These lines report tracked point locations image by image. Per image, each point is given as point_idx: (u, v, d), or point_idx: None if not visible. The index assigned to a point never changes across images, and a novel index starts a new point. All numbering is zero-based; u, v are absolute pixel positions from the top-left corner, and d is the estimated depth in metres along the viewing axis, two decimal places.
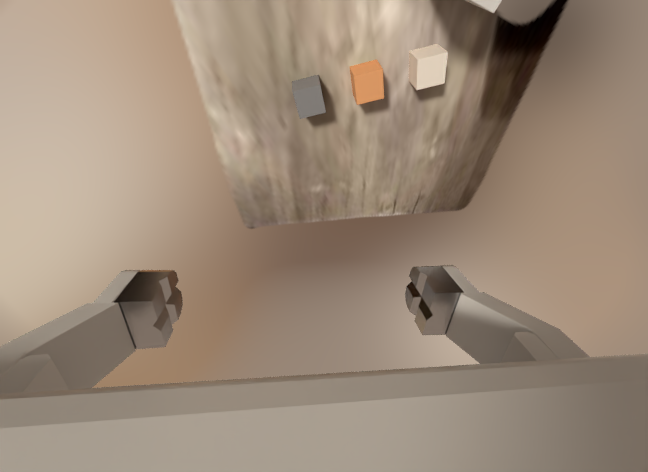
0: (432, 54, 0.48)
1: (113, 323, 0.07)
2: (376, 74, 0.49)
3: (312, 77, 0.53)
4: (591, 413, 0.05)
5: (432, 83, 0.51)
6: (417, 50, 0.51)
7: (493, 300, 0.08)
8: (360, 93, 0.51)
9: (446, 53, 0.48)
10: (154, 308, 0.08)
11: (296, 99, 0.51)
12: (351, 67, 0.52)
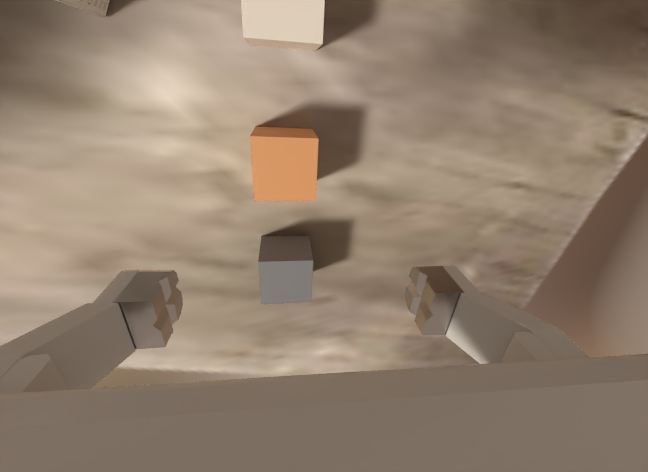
0: None
1: (113, 323, 0.07)
2: (260, 153, 0.21)
3: None
4: (591, 413, 0.05)
5: None
6: None
7: (493, 300, 0.08)
8: (292, 191, 0.23)
9: None
10: (154, 308, 0.08)
11: (275, 301, 0.28)
12: None
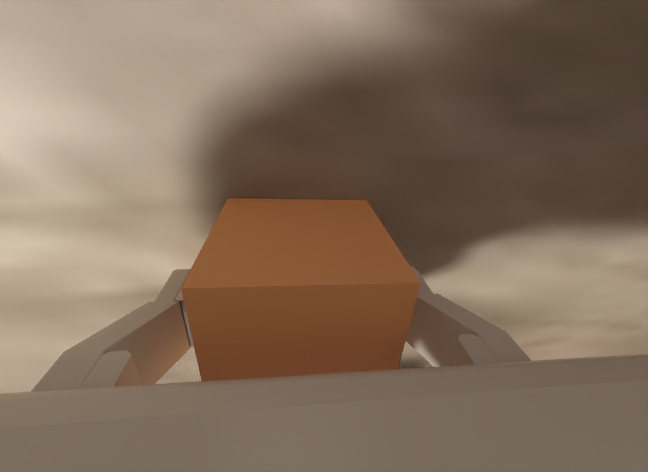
0: None
1: (174, 321, 0.08)
2: (222, 330, 0.06)
3: None
4: (591, 413, 0.05)
5: None
6: None
7: (445, 302, 0.08)
8: None
9: None
10: None
11: None
12: None
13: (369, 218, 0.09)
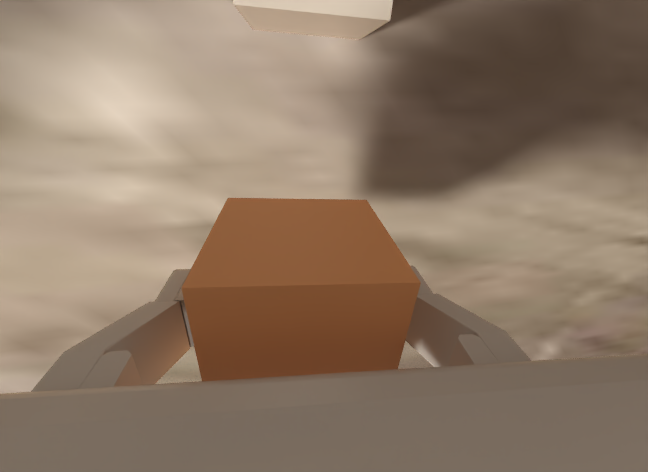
0: None
1: (174, 321, 0.08)
2: (222, 330, 0.06)
3: None
4: (591, 413, 0.05)
5: None
6: None
7: (445, 302, 0.08)
8: None
9: None
10: None
11: None
12: None
13: (369, 218, 0.09)
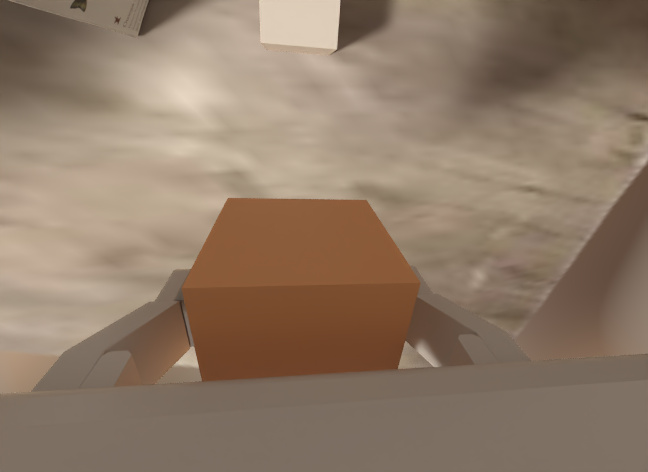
0: None
1: (174, 321, 0.08)
2: (221, 330, 0.06)
3: None
4: (591, 413, 0.05)
5: None
6: None
7: (445, 302, 0.08)
8: None
9: None
10: None
11: None
12: None
13: (369, 218, 0.09)
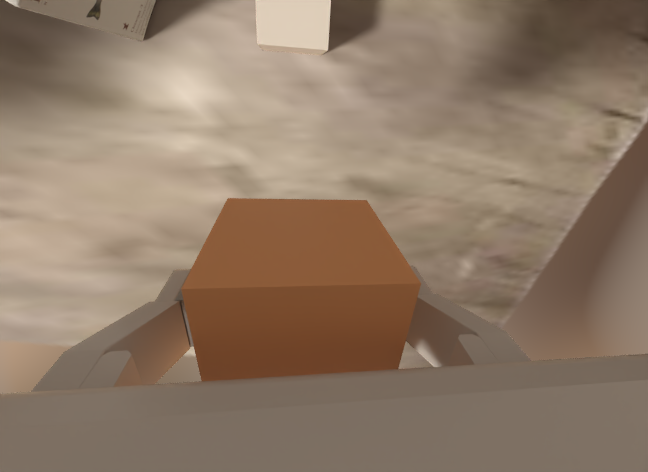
0: None
1: (174, 321, 0.08)
2: (222, 331, 0.06)
3: None
4: (591, 413, 0.05)
5: None
6: None
7: (445, 302, 0.08)
8: None
9: None
10: None
11: None
12: None
13: (369, 218, 0.09)
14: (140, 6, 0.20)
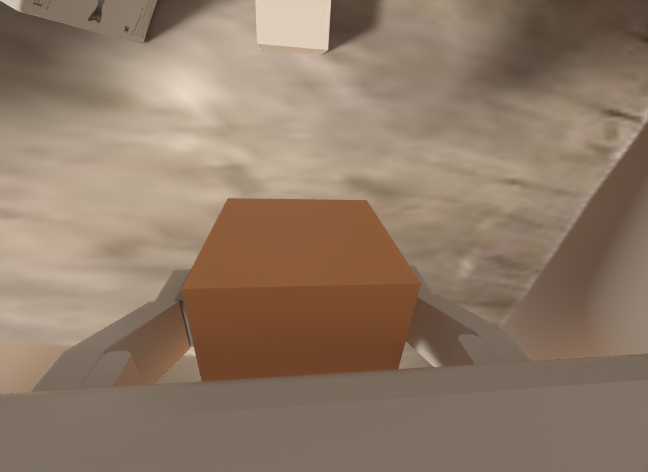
0: None
1: (174, 321, 0.08)
2: (222, 331, 0.06)
3: None
4: (591, 413, 0.05)
5: None
6: None
7: (445, 302, 0.08)
8: None
9: None
10: None
11: None
12: None
13: (369, 218, 0.09)
14: (141, 9, 0.20)
